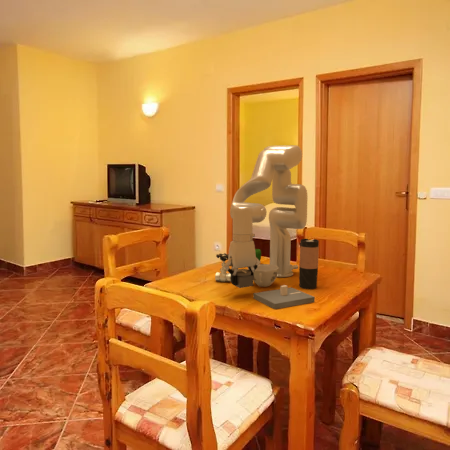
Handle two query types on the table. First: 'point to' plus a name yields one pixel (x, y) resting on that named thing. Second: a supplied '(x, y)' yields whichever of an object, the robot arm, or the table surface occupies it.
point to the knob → (244, 278)
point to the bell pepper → (258, 254)
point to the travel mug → (308, 263)
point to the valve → (223, 270)
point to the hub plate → (283, 297)
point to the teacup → (265, 274)
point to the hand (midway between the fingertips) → (242, 282)
